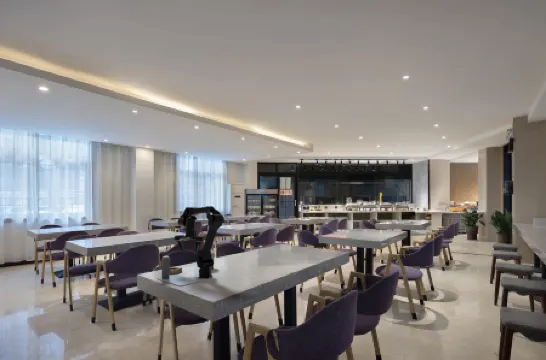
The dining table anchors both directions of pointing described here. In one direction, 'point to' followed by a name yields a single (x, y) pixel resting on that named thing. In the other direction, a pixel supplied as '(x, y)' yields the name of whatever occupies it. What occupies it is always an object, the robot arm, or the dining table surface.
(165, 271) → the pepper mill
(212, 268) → the food container
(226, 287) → the dining table surface
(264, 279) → the dining table surface
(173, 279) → the placemat
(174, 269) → the walnut holder
